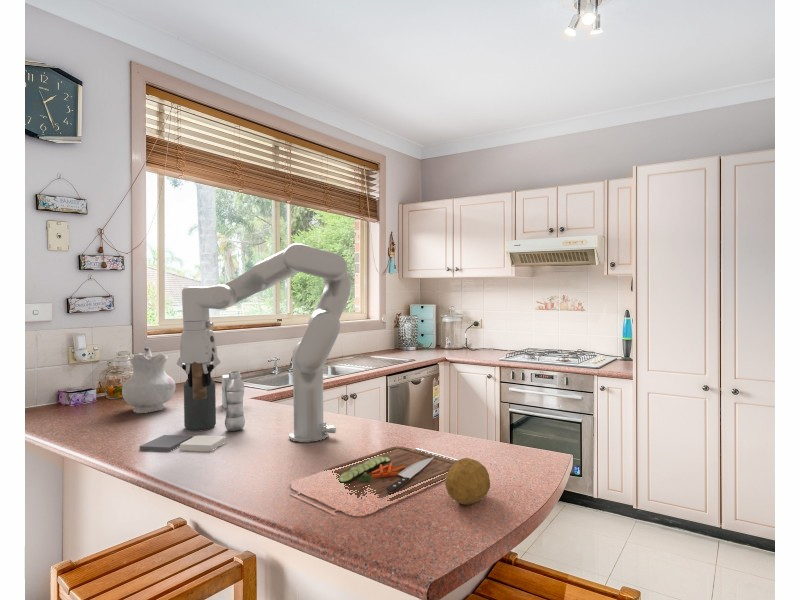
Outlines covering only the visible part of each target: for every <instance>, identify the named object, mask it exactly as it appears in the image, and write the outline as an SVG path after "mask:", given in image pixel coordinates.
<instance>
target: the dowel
mask: <svg viewBox="0 0 800 600" xmlns="http://www.w3.org/2000/svg"><path fill="white" fill-rule="evenodd" d="M191 366H192V385H193V399H204V398H207V386H206V387H203V377H202V375H203V374H204V370H203V366H202V364H199V363H196V362H194V363H192V364H191Z"/></svg>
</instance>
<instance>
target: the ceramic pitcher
mask: <svg viewBox="0 0 800 600" xmlns="http://www.w3.org/2000/svg"><path fill="white" fill-rule="evenodd" d="M143 351H144V352H138V353H136V354H133V355H134V356H133V357H129V361H130V364H131V367H132V370H133V371H132V372H133V373H132V375H130V377H129V378H127V379H126V381H124V382H123V384H122V386H121V394H122V398H123V400H124V402H126V404H128V405H129V406H131V407H134V409H133V410H132V412H133V413H135V412H136V413H145V414H149V413H152V412H157V411H163V410H165V409H166V407H165V405H164V404H166V403H168V402H169V401H170V400H171V399H172V398H173V396H174V394H175V391H176V381H175V380H174V378H173V377H171V376H170V375H168V373H166V369H165V368H166V367H165V366H166V362H167V360H168V357H169V356H168V355H167V354H166V355H165V354H164V353H163V352H158V353H157V354H155V355H152V350H151V348H150V347H147V346H145V347H144V348H143ZM148 412H149V413H148ZM136 413H135V414H136Z"/></svg>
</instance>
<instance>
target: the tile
mask: <svg viewBox="0 0 800 600" xmlns="http://www.w3.org/2000/svg"><path fill="white" fill-rule="evenodd" d="M225 442H226V443H227V436H222V435H220V436H219V435H195V436H193V438H191V439H189V440H187V441H185V442H183V443H181V444H180V447H179V451H183V450H194V451H193V452H209V451H212V450H213V449H215V448H216V449H218V448H219V447H218V446H220V445H221V446H223V445H224V444H226V443H225ZM223 443H224V444H223ZM222 444H223V445H222ZM221 446H220V447H221ZM217 447H218V448H217ZM216 449H215V450H216ZM213 451H214V450H213ZM213 451H212V452H213Z"/></svg>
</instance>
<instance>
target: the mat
mask: <svg viewBox="0 0 800 600" xmlns="http://www.w3.org/2000/svg"><path fill="white" fill-rule="evenodd" d="M193 437H194V436H193V435H179V434H177V435H176V434H163V435H161V436H158V437H156V438H155V439H152V440H149V441H147V442H146V443H143V444H141V445H139V451H148V452H149V451H150V452H151V451H153V452H155V451H156V452H172V451H174V450H175V448H176V449H178V448H180V447H179V446H180V444H181V443H183V442H185V441H187V440H189V439H191V438H193ZM177 447H178V448H177ZM173 449H174V450H173ZM171 450H172V451H171Z"/></svg>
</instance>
